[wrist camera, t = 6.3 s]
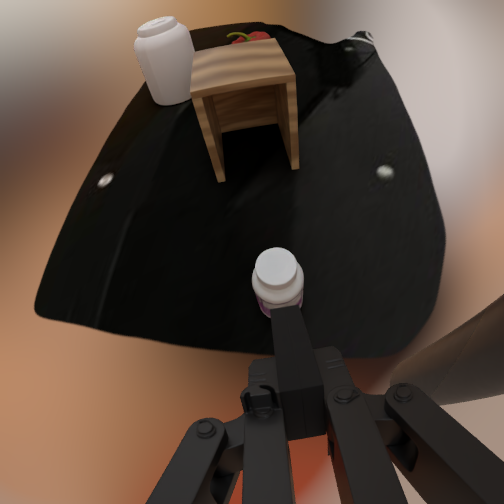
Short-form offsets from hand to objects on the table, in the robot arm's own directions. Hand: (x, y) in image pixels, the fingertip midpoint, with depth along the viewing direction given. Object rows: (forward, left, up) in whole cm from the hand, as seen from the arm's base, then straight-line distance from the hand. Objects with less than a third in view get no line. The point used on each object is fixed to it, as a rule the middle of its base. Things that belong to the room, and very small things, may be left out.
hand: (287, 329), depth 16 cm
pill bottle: (+7, -5, -20) cm, 22 cm away
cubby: (+30, -21, -20) cm, 42 cm away
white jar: (+60, -24, -20) cm, 68 cm away
